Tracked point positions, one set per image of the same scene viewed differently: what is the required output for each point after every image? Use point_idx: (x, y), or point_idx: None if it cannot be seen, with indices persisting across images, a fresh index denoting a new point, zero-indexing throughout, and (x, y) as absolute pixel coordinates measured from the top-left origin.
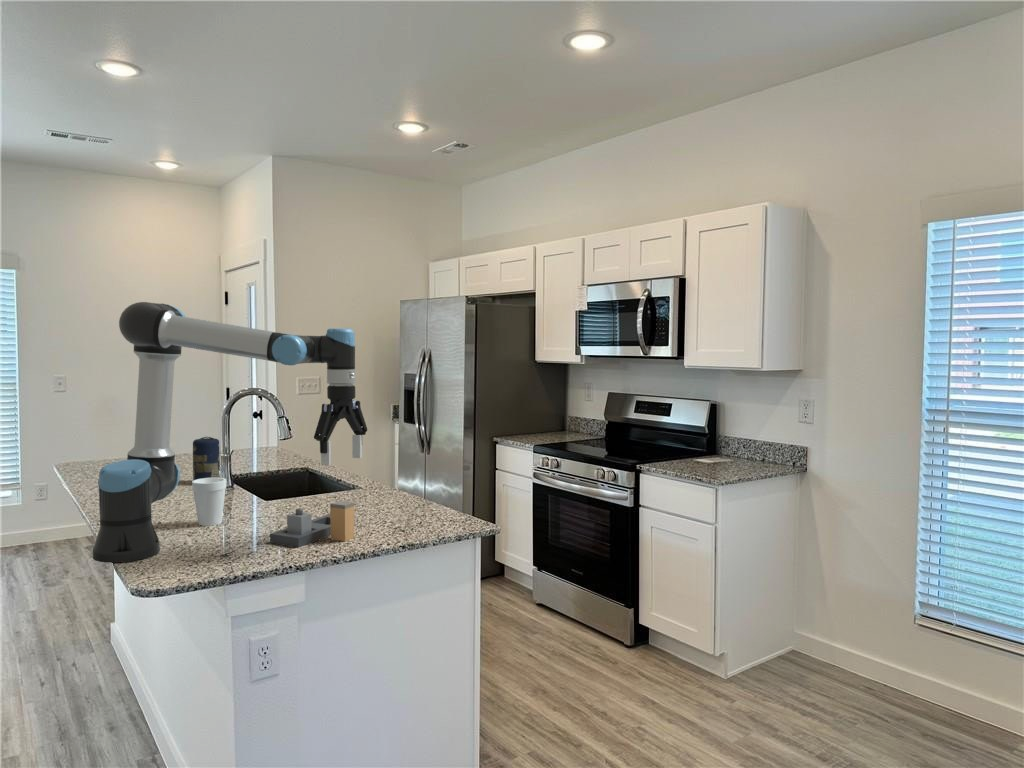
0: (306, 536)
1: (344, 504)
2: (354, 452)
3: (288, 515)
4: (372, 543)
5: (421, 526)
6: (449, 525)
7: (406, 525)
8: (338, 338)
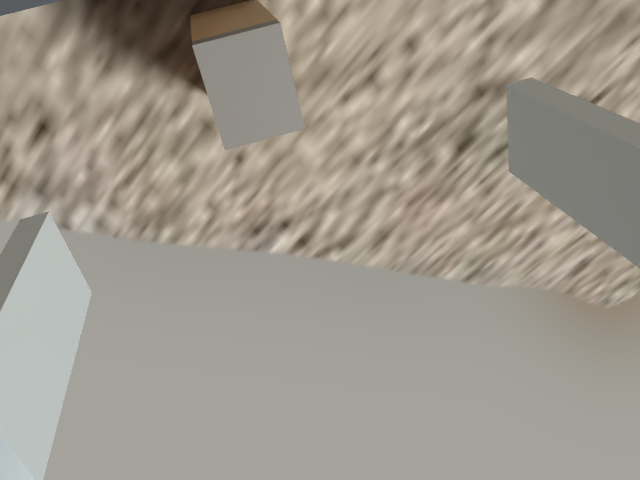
0: (46, 3)
1: (238, 128)
2: (536, 124)
3: None
4: (271, 196)
5: None
6: None
7: None
8: None
